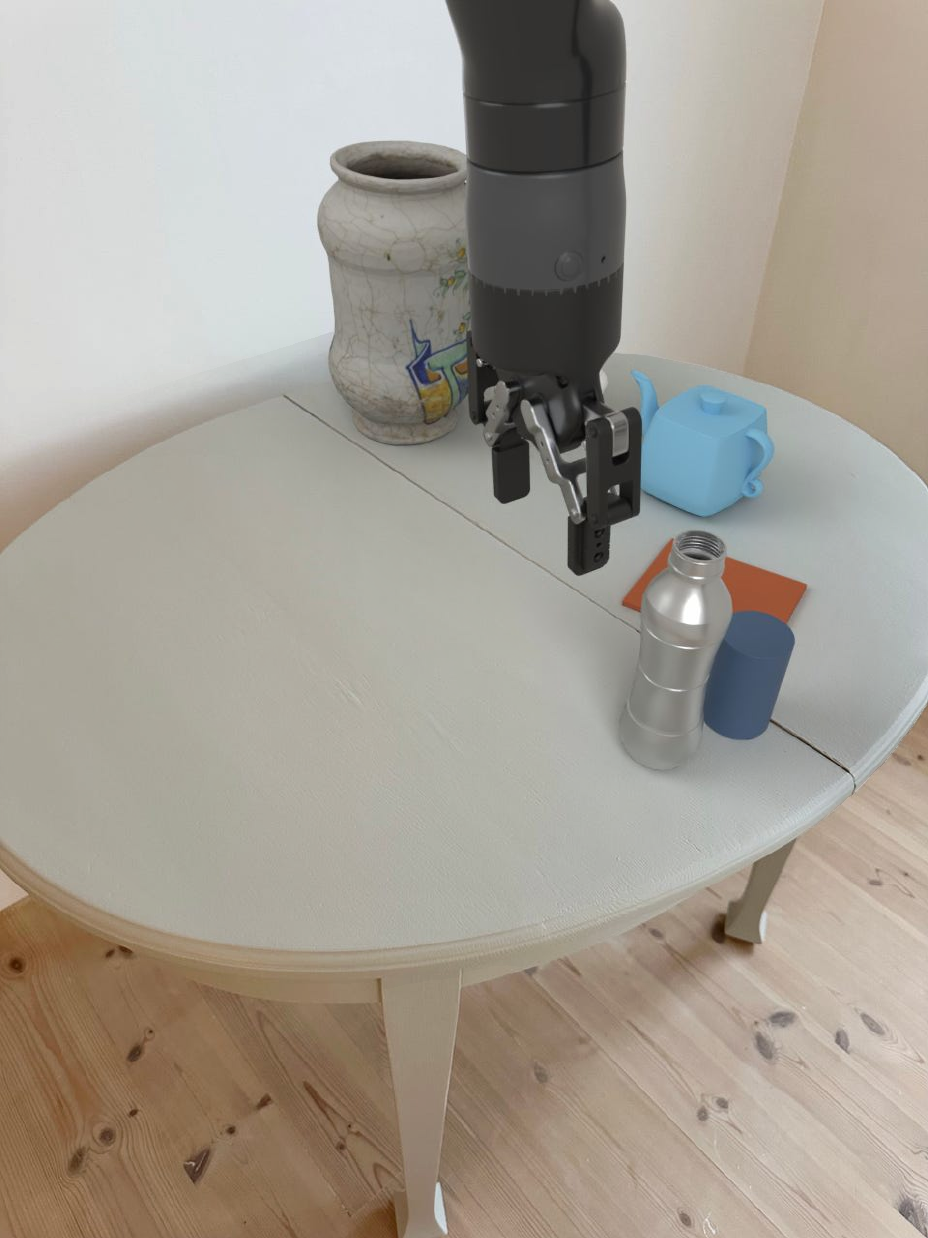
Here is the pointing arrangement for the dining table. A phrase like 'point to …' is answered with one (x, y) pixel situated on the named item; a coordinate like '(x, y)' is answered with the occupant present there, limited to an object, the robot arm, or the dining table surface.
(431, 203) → the vase
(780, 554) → the dining table surface
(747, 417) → the teapot
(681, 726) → the silver metal bottle
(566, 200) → the robot arm
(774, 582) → the terracotta mat
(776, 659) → the blue canister
